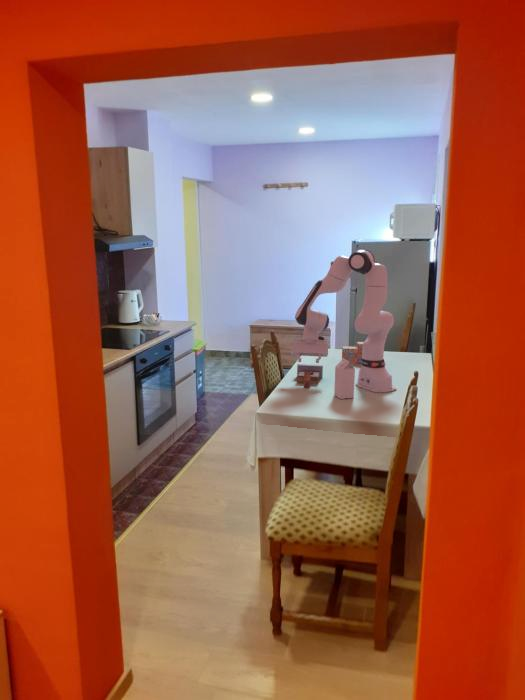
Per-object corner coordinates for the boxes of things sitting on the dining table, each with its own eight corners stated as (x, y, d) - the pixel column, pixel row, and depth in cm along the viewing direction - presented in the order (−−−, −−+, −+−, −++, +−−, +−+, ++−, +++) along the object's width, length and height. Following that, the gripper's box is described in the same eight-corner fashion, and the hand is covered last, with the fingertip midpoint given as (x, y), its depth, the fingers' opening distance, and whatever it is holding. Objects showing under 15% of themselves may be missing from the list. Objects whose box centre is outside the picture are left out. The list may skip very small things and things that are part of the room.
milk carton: (346, 394, 288) (348, 357, 284) (353, 398, 282) (355, 360, 278) (334, 395, 286) (335, 358, 282) (341, 399, 279) (342, 361, 275)
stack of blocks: (342, 363, 352) (343, 343, 349) (341, 360, 358) (342, 341, 356) (377, 363, 352) (378, 344, 349) (375, 361, 358) (376, 341, 355)
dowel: (311, 387, 299) (311, 372, 297) (305, 388, 298) (305, 373, 296) (308, 386, 302) (308, 371, 300) (302, 386, 301) (303, 371, 299)
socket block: (299, 378, 318) (299, 370, 317) (319, 379, 316) (319, 371, 315) (297, 383, 307) (297, 375, 306) (318, 384, 306) (318, 376, 305)
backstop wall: (297, 376, 321) (297, 364, 319) (322, 377, 319) (322, 365, 317) (297, 377, 319) (297, 365, 317) (322, 378, 317) (322, 366, 315)
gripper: (291, 336, 312) (288, 357, 305) (329, 338, 309) (327, 359, 302) (292, 342, 317) (289, 363, 310) (329, 344, 314) (327, 365, 307)
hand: (308, 361), depth 306 cm, fingers open, 8 cm apart
